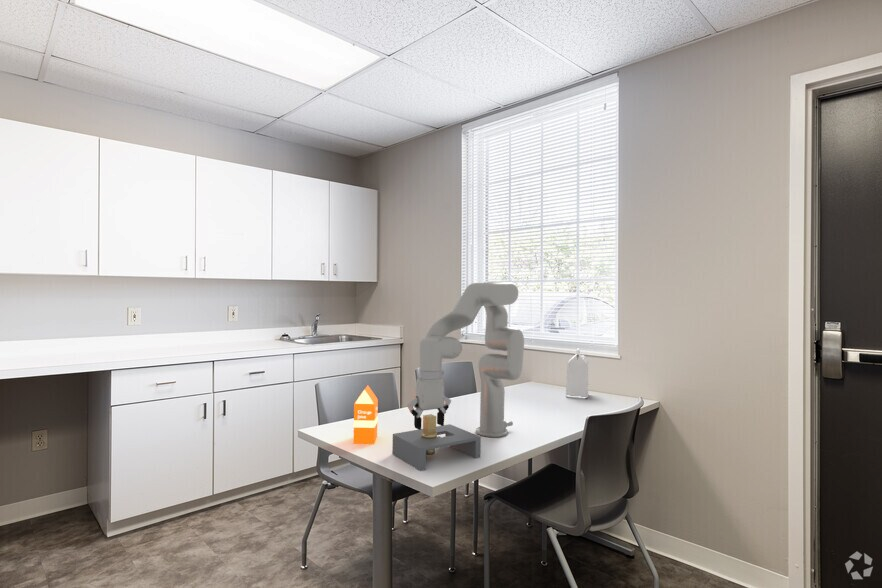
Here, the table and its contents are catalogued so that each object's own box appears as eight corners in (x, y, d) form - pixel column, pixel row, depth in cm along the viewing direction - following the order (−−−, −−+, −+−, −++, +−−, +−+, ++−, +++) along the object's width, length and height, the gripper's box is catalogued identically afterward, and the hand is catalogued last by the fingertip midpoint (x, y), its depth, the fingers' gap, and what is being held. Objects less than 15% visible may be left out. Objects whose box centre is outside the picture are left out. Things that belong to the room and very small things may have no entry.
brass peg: (431, 449, 166) (431, 413, 166) (439, 453, 162) (440, 416, 162) (418, 452, 163) (419, 415, 163) (426, 456, 159) (427, 418, 159)
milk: (567, 393, 273) (568, 347, 273) (588, 394, 270) (589, 348, 270) (565, 397, 262) (566, 349, 262) (587, 399, 258) (588, 350, 258)
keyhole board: (449, 443, 178) (450, 424, 178) (480, 457, 163) (480, 436, 163) (392, 454, 165) (392, 433, 164) (420, 471, 150) (420, 448, 150)
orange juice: (377, 436, 184) (378, 384, 184) (374, 444, 175) (375, 389, 175) (357, 436, 184) (357, 384, 184) (352, 443, 175) (353, 388, 175)
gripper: (445, 371, 170) (444, 420, 170) (402, 375, 160) (401, 427, 160) (457, 374, 164) (456, 425, 164) (413, 379, 154) (412, 433, 154)
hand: (429, 426), depth 162 cm, fingers open, 8 cm apart
